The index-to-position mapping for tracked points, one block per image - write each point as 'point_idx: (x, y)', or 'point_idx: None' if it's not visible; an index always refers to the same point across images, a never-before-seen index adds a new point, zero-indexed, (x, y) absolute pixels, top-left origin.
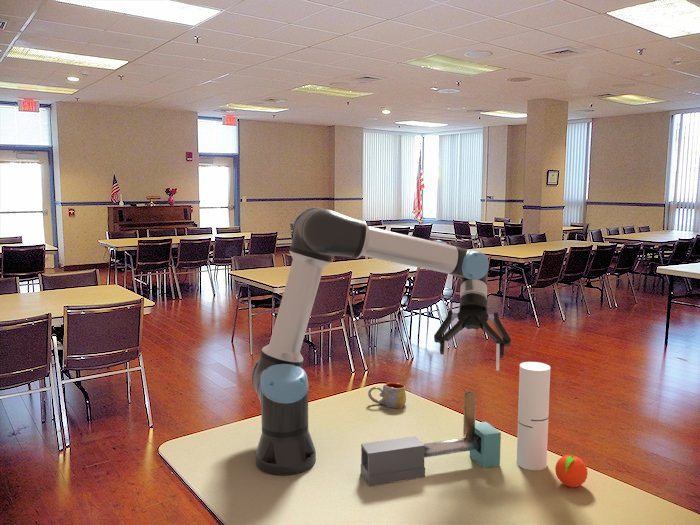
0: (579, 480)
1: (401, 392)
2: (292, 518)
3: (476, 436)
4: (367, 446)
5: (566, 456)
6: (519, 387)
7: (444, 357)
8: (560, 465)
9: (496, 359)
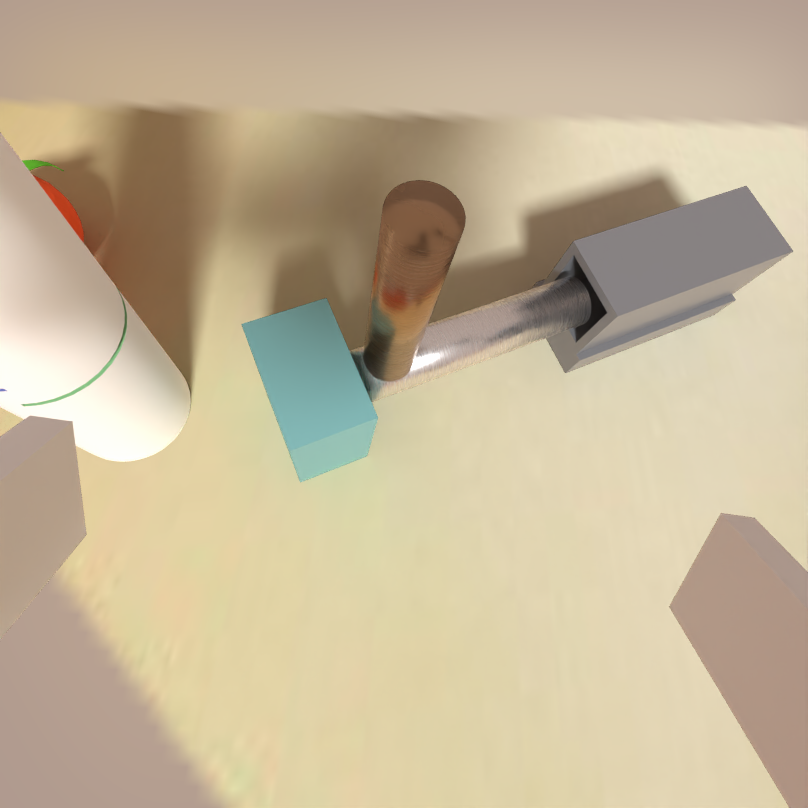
0: None
1: None
2: (791, 129)
3: None
4: (766, 232)
5: None
6: (5, 178)
7: (790, 566)
8: (54, 198)
9: (7, 476)
